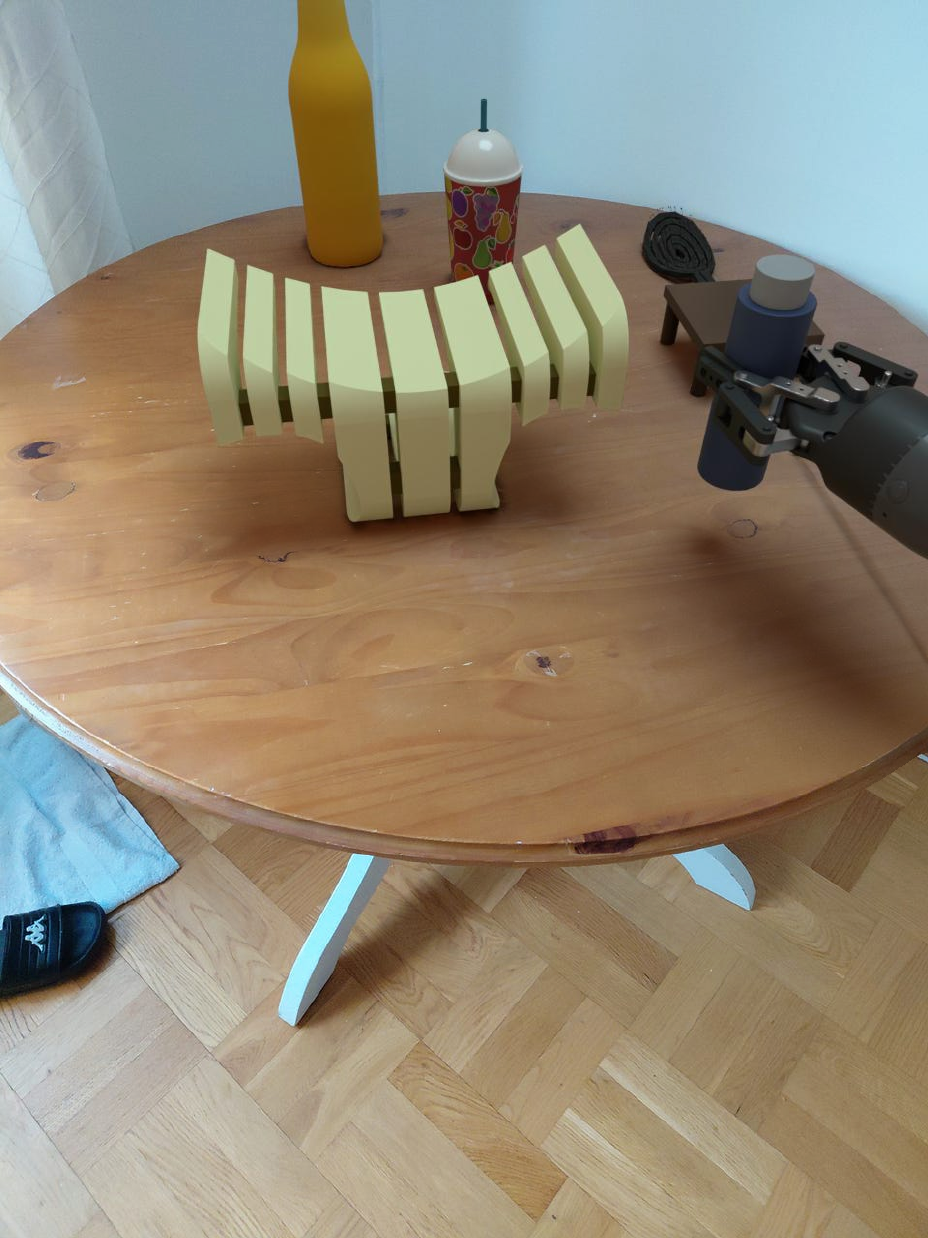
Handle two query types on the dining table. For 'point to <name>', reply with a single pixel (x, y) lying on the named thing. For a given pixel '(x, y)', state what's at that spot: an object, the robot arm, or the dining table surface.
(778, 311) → the thermos flask
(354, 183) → the beer bottle
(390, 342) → the slatted curved stool
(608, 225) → the dining table surface
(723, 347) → the side table
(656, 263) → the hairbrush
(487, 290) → the smoothie
